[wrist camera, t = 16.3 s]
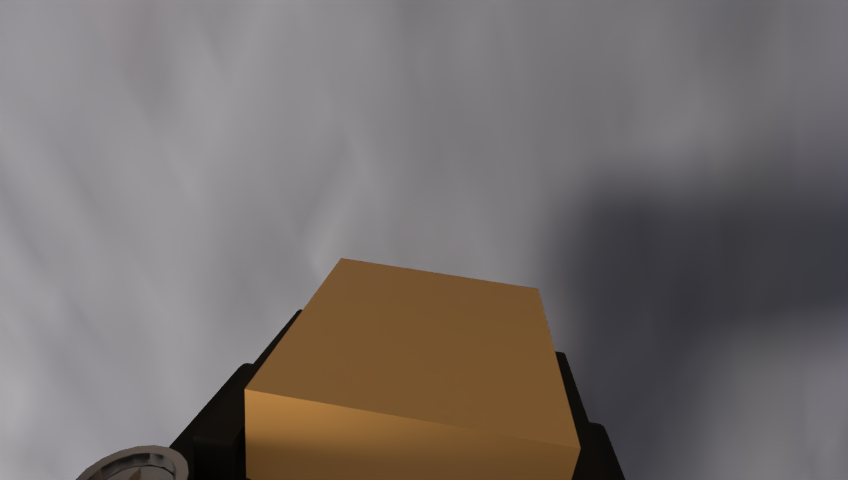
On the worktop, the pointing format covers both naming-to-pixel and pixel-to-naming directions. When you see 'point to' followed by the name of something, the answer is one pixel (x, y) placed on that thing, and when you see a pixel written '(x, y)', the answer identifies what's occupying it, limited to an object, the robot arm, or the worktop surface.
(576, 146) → the worktop surface
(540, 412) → the plug
